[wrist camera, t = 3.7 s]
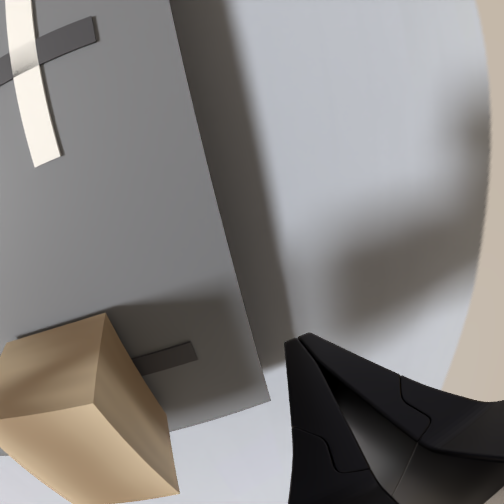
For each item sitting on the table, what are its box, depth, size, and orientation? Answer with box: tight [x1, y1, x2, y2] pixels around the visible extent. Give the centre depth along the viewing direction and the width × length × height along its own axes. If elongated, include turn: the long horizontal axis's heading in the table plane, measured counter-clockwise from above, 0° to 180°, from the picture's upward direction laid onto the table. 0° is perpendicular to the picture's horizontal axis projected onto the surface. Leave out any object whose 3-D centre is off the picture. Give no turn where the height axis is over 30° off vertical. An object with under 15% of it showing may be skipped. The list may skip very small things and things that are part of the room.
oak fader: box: [0, 313, 180, 504], centre depth 8 cm, size 4×5×4 cm
